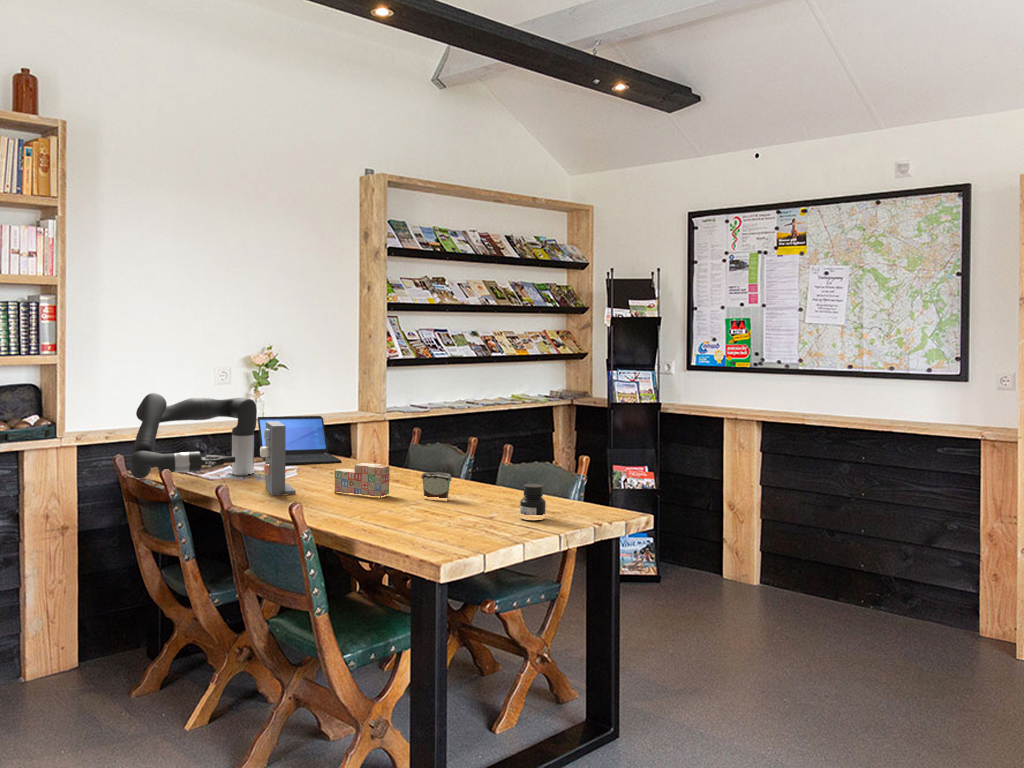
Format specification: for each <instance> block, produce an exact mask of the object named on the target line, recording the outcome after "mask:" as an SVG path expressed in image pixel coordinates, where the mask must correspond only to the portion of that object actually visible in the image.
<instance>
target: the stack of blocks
mask: <svg viewBox="0 0 1024 768" xmlns="http://www.w3.org/2000/svg"><path fill="white" fill-rule="evenodd" d="M390 469H391V468H390V465H385V464H380V463H367V462H361V463H358V464H354V468H339V469H335V470H334V493H335V492H342V493H354V494H362V495H370V496H380V497H381V496H384V495H387V494H389V495H390Z"/></svg>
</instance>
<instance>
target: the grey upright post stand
mask: <svg viewBox="0 0 1024 768" xmlns="http://www.w3.org/2000/svg"><path fill="white" fill-rule="evenodd" d="M266 429H270V439H266V447H270V457H266V460H265V463H264V464H270V474H268V475H265V477H264V478H265V479H264V481H265V482H264V483H265V485H264V486H265V490H266V491H267V492H268V493H269V494H270V495H271V496H272V495H278V496H284V495H283V494H296V492H297V491H296V489H294V487H292V486H291V485H290V484H289V483H286V465H285V442H286V426H285V425H284V424H282V423H280V422H279V421H266Z"/></svg>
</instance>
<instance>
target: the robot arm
mask: <svg viewBox="0 0 1024 768" xmlns="http://www.w3.org/2000/svg"><path fill="white" fill-rule="evenodd" d="M167 404H168V403H167V401H166V399H165V397H164V396H162V395H161V394H159V393H155V392H152V393H149V394H147V395H145V396H144V398H143V399H142V400H141V402H140V404H139V405H138V407H137V409H136V418H137V419H138V420H139V421H141V425H140V426H139V429H138V432H137V433H136V436H135V440H134V445H133V446H134V447H133V453H132V454H131V456H130V458H129V471H130V474H131V475H132V477H134V478H135V479H139V480H140V479H144V478H147V477H148V476H149V474H150V473H151V470H152V466H153V467H157V470H158V472H159V473H162V471H163V470H164V469H169V470H170V471H171V472H170V473H193V472H195V473H197V472H201V471H202V466H205V467H208V468H209V467H213V468H214V467H218V466H223V465H226V464H231V474H232V475H233V474H234V475H233V476H249V475H248V474H251V475H253V474H252V473H254V474H255V430H256V427H257V418H258V417H257V416H258V415H257V411H258V408H257V405H256V402H255V401H254V400H253V399H251V398H247V397H234V398H233V397H232V398H226V399H225V398H224V399H215V398H209V397H208V398H207V397H206V398H205V397H191V398H187V399H184V400H181V401H179V402H178V401H177V402H176V403H174V404H171V405H167ZM219 417H221V418H222V417H225V418H226V417H227V418H233V419H237V424H236V425H235V426H234V427H233V428H232V430H231V455H230V456H225V455H224V456H223V455H217V454H206V455H205V456H202V453H201V452H200V451H185V452H184V451H182V452H176V453H161V452H159V453H158V452H155V451H154V449H155V445H156V440H157V439H156V438H157V434H158V430H159V426H160V423H167V422H168V423H169V422H176V421H177V422H178V421H206V420H211V419H214V418H219Z"/></svg>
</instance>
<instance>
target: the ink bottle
mask: <svg viewBox="0 0 1024 768" xmlns="http://www.w3.org/2000/svg"><path fill="white" fill-rule="evenodd" d="M543 493H544V485H543V484H540V483H539V484H538V483H525V484H524V485H523V496H524V497H522V499H520V502H519V503H520V504H519V514H520V513H521V514H524V515H543V514H545V515H546V508H547V507H546V506H547V505H546V500H545V499H544V497H543V496H544V494H543Z"/></svg>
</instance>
